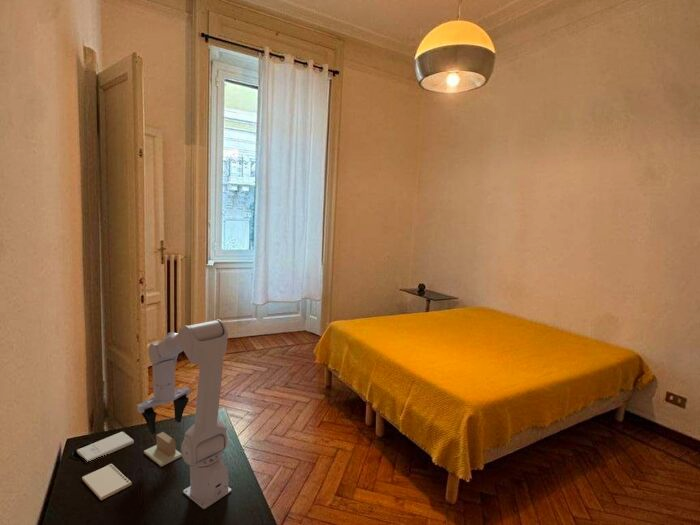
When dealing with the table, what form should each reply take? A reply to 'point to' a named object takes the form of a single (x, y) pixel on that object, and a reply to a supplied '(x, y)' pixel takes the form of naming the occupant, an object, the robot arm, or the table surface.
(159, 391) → the robot arm
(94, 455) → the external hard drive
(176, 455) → the stub
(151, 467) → the table surface
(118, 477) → the board
